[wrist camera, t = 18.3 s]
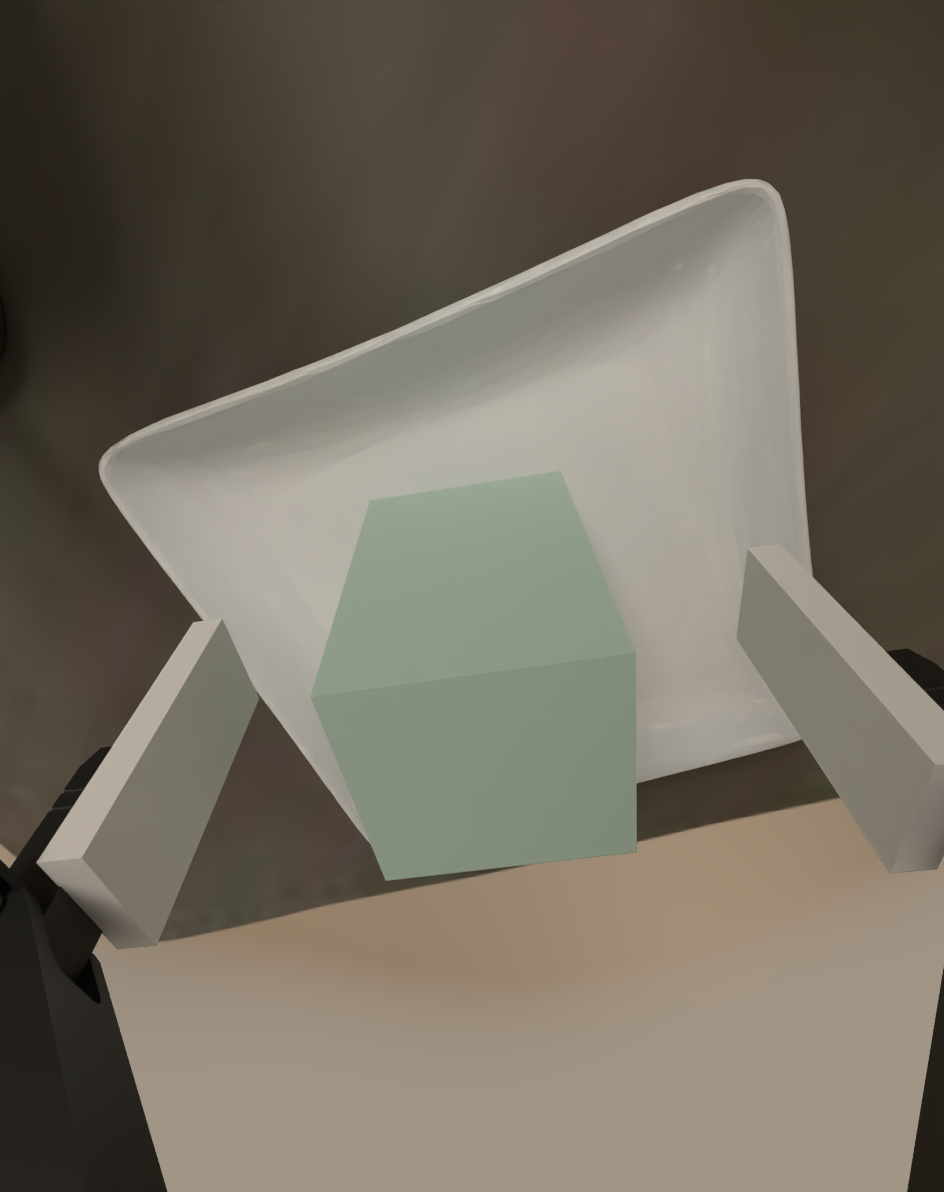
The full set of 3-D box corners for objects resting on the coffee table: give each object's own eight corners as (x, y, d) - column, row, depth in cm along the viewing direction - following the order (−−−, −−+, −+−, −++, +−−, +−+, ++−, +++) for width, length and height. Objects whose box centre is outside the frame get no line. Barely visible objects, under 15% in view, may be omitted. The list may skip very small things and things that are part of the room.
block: (370, 500, 18) (310, 696, 11) (560, 470, 18) (635, 652, 10) (409, 649, 22) (385, 880, 14) (572, 626, 21) (636, 852, 14)
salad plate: (737, 163, 17) (794, 150, 14) (794, 687, 28) (833, 742, 25) (123, 427, 21) (68, 460, 18) (384, 799, 31) (376, 857, 28)
